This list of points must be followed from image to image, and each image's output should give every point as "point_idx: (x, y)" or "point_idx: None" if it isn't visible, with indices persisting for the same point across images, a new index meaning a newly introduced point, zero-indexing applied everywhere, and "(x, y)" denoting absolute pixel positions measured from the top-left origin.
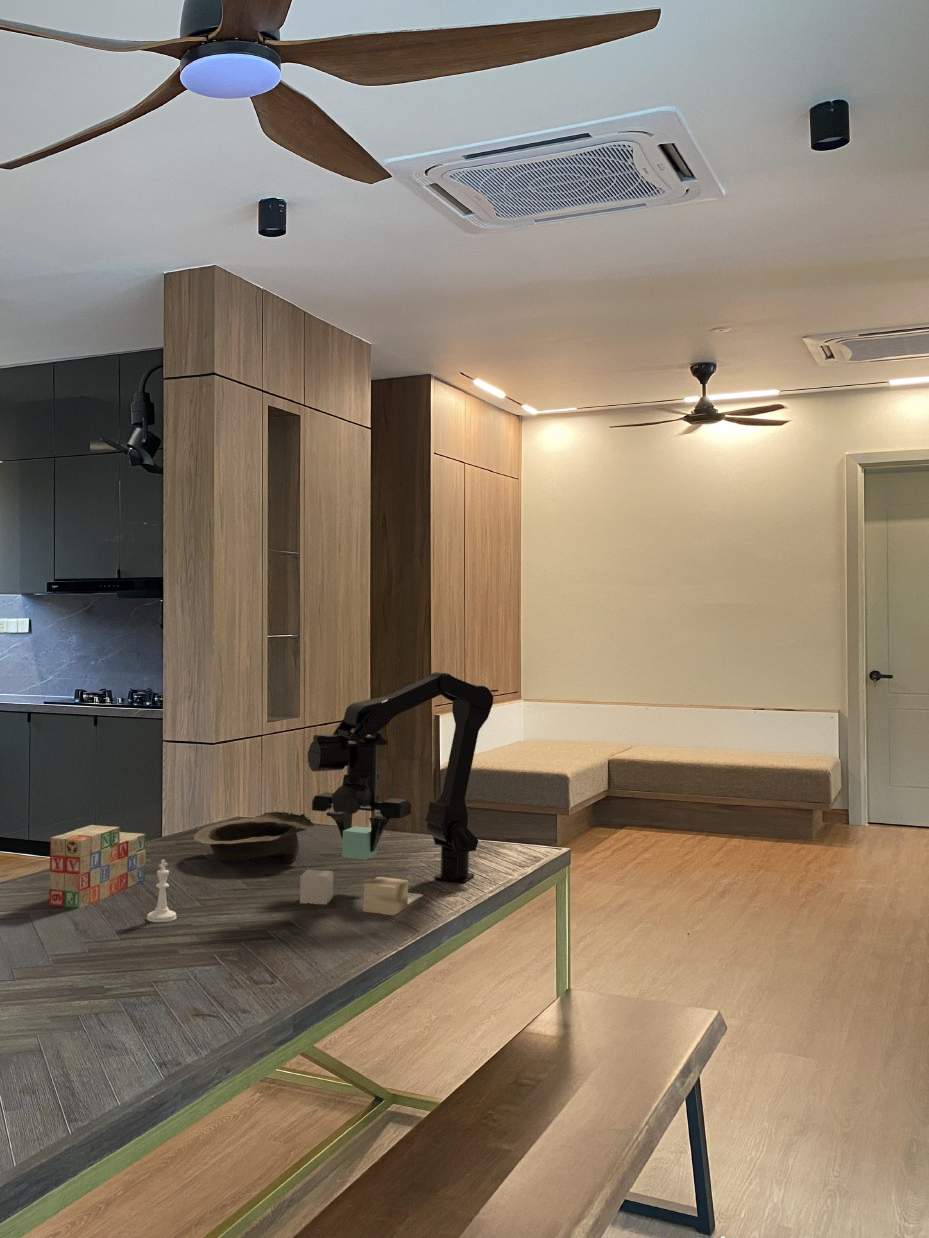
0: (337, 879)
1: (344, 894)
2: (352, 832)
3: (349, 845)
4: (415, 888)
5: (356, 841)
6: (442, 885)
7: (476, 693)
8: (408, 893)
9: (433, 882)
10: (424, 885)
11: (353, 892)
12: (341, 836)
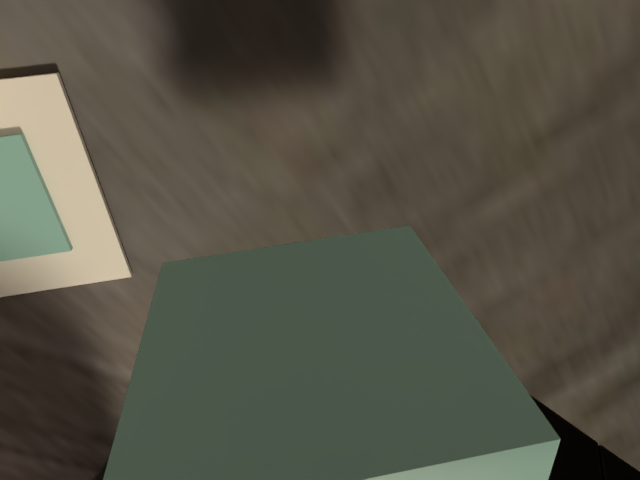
0: (467, 303)
1: (297, 94)
2: (374, 464)
3: (367, 309)
4: (76, 376)
5: (281, 368)
6: (24, 461)
7: None
8: (3, 286)
9: (91, 469)
10: (84, 426)
11: (278, 160)
12: (544, 406)
